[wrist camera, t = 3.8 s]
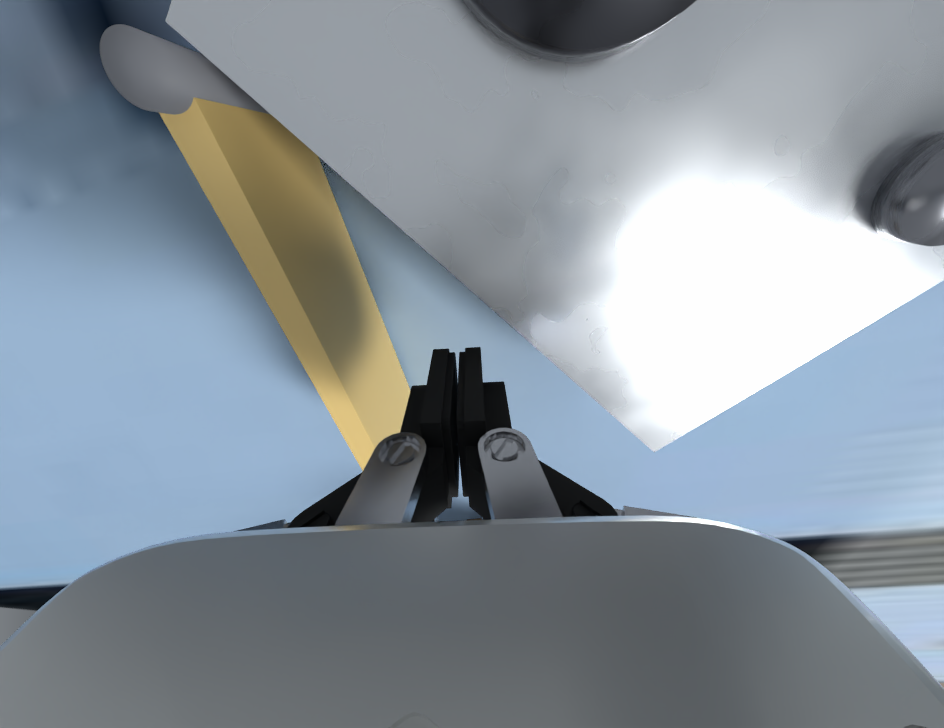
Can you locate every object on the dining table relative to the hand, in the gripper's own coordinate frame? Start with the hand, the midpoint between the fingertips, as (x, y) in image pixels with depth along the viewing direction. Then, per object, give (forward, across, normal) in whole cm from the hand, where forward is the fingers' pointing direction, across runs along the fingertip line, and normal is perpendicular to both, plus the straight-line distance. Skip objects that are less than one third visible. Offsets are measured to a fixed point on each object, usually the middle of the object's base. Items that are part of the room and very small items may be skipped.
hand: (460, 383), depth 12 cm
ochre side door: (+6, +5, -2) cm, 8 cm away
